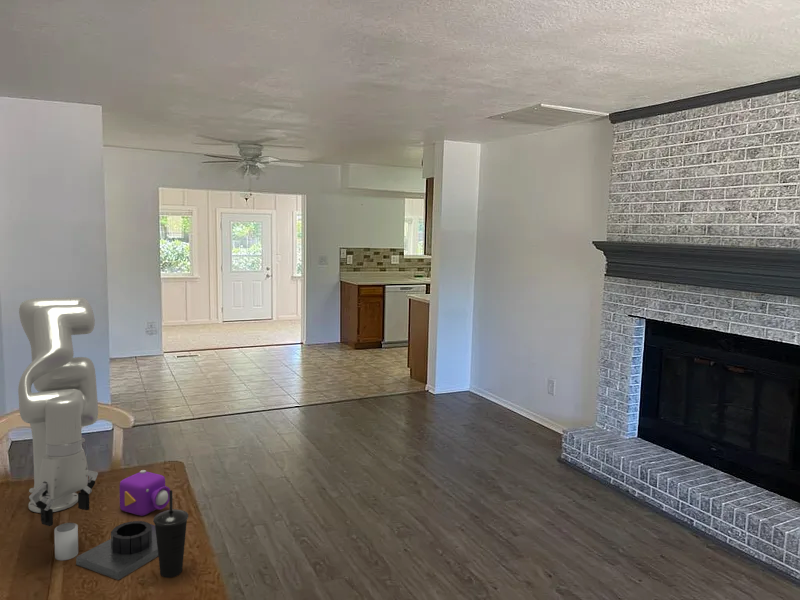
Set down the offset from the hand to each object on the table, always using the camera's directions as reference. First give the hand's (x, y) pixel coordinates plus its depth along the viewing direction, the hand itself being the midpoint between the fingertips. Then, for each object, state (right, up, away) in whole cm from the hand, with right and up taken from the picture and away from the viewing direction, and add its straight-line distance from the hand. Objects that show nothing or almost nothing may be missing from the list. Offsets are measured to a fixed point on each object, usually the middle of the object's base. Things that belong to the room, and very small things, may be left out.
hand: (66, 516), depth 146 cm
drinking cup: (+27, -12, -4) cm, 30 cm away
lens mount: (+14, -10, +4) cm, 18 cm away
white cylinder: (-1, -10, +2) cm, 10 cm away
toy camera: (+8, -8, +27) cm, 29 cm away
